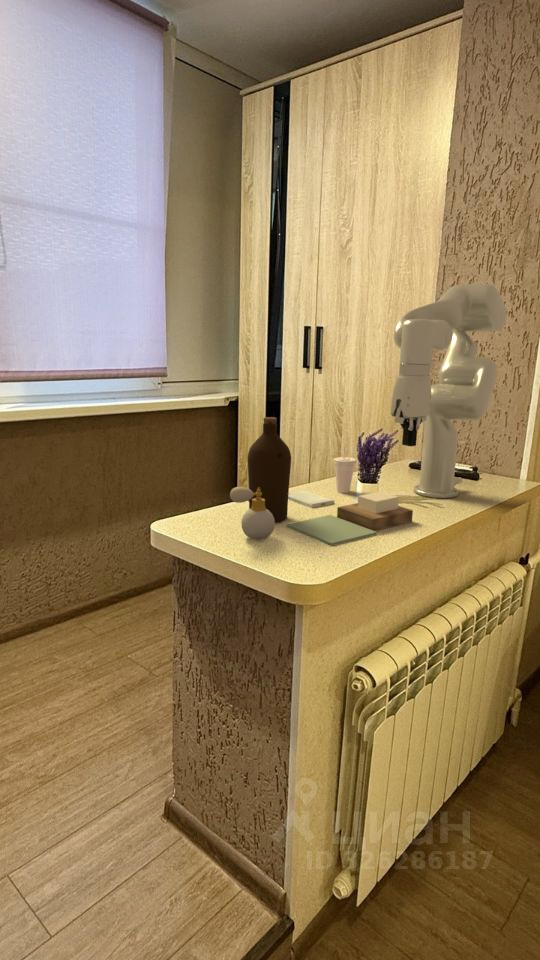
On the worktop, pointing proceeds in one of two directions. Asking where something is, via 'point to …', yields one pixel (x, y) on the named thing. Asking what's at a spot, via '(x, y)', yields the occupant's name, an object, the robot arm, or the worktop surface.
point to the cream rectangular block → (378, 502)
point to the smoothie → (344, 472)
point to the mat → (331, 530)
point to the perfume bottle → (254, 514)
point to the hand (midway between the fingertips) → (408, 445)
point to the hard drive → (309, 499)
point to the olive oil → (270, 470)
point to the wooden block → (374, 517)
